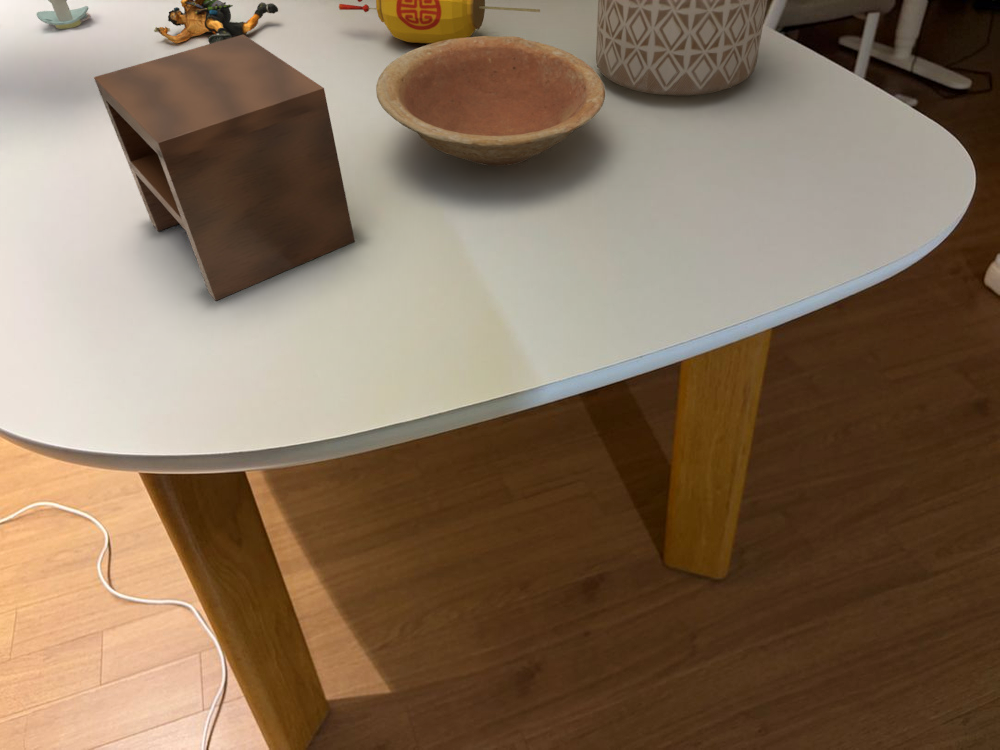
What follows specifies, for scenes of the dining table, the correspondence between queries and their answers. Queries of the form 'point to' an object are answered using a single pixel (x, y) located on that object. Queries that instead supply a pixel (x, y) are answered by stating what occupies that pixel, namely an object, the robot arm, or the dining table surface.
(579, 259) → the dining table surface
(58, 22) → the pacifier
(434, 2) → the lantern
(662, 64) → the planter
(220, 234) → the shelf
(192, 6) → the action figure
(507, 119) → the bowl
